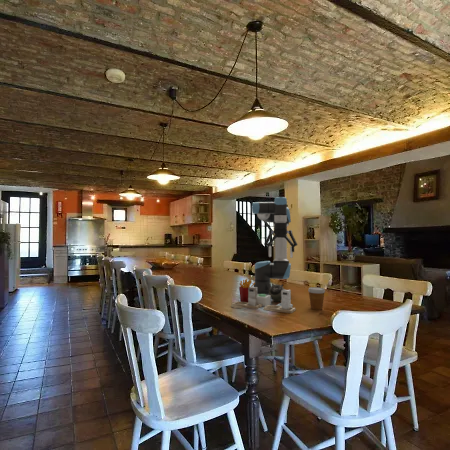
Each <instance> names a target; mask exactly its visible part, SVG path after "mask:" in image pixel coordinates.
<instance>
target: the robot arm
mask: <svg viewBox="0 0 450 450" xmlns="http://www.w3.org/2000/svg"><path fill="white" fill-rule="evenodd" d="M287 201H288V199H287V197H286V196H277V197H275V198H274V201H256V202H252V204H251V211H252V214H256V215H257V218H258V219H259V220H260V221H262V222H265V223H273V226H274V230H272V229H271V230H269V231H268V235H267V237H266V240H265V242H264V245H265V246H266V249H267V252H268V257H269V258H271V257H272V244H273V243H275V244H274V245H275V248H274V249H275V252H274V253H275V254H274V255H275V258H274V259H273V261H272V262H271V261H270V260H264V261H263V260H262V261H258V262H256V263H254V282H255V284H254V285H253V286H252V287H257V295H258V294H266V295H269V289H270V288H271V287H272V283H271V279H275V280H288V279H289V278H290V276H291V275H290V274H291V269H292V268H291V265H292V263H290V260H289V259H288V244H289V245H290V247H289V248H290V249H289V250H290V251H289V253H290V254H289V255H290V256H289V258H291V259H292V258H293V256H294V253H295V247H297V246H298V242H297V241H296V238H295V237H294V235H293V231H292V230H291V229H290V230H288V226H289V225H290V223H291V222H292V221H291V212H290V209H289V207H288V202H287ZM273 234H274V235H273ZM288 235H289V237H290V238H289V237H288Z"/></svg>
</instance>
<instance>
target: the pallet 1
mask: <svg viewBox="0 0 450 450" xmlns="http://www.w3.org/2000/svg"><path fill="white" fill-rule="evenodd" d="M257 295H258V294H257V287H253V286H252V287H251V286H250V287H249V288H248V302H240V301H235V302H233V303H231V308H236V309H241V310H242V309H244V308H246V309H253V310H258V309H260V308H262V307H263V306H262V304H257Z"/></svg>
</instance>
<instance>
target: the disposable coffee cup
mask: <svg viewBox="0 0 450 450" xmlns="http://www.w3.org/2000/svg"><path fill="white" fill-rule="evenodd" d="M325 293H326V290H325V288H324V287H318V286H317V287H315V286H314V287H312V286H311V287H308V294H309V301H310V302H309V303H310V309H314V310H320V311H323V306H324V298H325Z"/></svg>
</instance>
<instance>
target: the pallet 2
mask: <svg viewBox="0 0 450 450" xmlns="http://www.w3.org/2000/svg"><path fill="white" fill-rule="evenodd" d="M296 310H297V309H296V307H291V310H284V309H281V306H276V305H273V304H270V305H267V306H263V311H271V312H278V313H286V314H287V313H288V314H293V313H294V312H296Z"/></svg>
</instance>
